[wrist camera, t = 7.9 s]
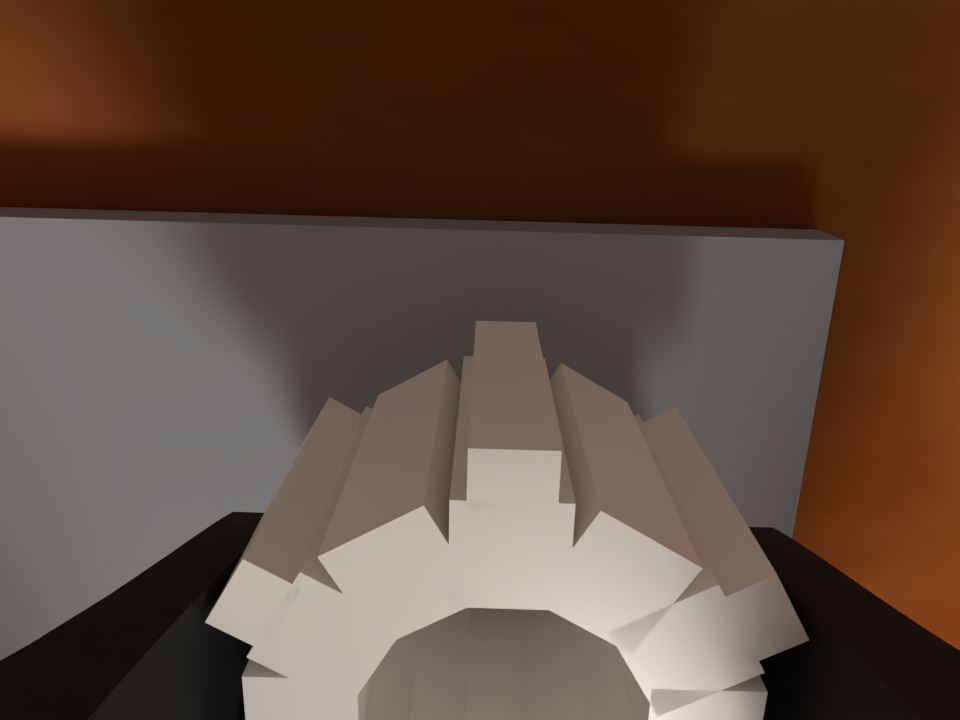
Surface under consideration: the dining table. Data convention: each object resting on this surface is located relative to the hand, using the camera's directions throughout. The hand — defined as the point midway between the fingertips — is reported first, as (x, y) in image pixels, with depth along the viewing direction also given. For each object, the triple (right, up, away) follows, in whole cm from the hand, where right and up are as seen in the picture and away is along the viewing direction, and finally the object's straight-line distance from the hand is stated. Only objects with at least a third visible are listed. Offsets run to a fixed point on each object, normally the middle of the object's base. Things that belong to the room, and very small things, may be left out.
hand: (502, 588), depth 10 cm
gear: (0, +1, +1) cm, 2 cm away
